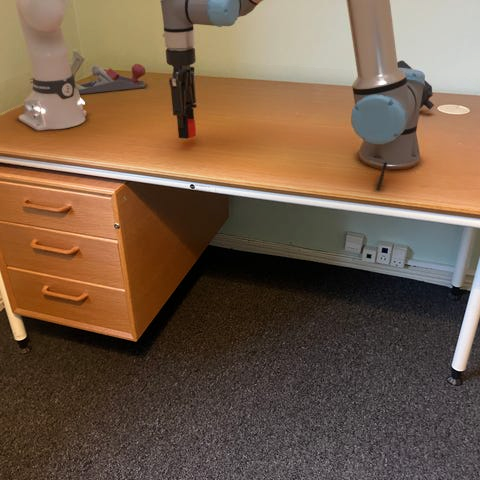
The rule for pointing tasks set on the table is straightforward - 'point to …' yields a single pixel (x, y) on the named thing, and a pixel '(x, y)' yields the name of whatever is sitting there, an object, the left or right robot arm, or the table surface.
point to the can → (191, 128)
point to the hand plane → (106, 77)
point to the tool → (426, 90)
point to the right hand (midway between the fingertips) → (186, 134)
